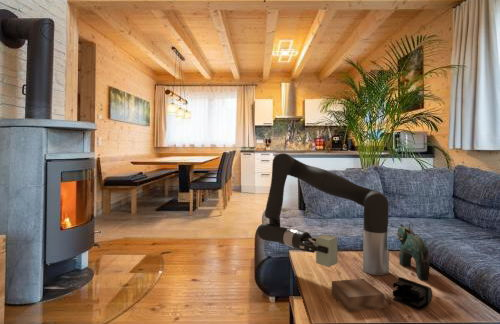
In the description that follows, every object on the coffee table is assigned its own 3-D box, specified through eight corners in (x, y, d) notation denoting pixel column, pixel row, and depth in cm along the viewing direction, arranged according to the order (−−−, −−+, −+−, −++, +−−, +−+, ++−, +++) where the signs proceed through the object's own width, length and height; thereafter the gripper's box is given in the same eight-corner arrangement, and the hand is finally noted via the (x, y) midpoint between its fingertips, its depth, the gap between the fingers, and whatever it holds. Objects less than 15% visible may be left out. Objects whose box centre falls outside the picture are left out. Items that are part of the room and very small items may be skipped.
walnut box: (362, 292, 110) (363, 278, 110) (383, 309, 98) (383, 294, 98) (331, 295, 108) (331, 281, 108) (348, 313, 96) (349, 297, 96)
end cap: (432, 305, 100) (433, 285, 100) (421, 312, 96) (421, 290, 96) (402, 293, 109) (403, 274, 108) (391, 299, 105) (391, 279, 104)
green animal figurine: (395, 262, 138) (396, 218, 138) (409, 262, 138) (410, 218, 137) (417, 281, 119) (418, 230, 118) (434, 281, 118) (436, 230, 118)
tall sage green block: (324, 259, 120) (324, 234, 120) (337, 263, 116) (337, 237, 116) (316, 263, 116) (316, 237, 116) (328, 267, 112) (328, 240, 112)
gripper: (285, 233, 122) (321, 243, 109) (307, 227, 131) (343, 235, 119) (285, 252, 122) (321, 263, 109) (307, 244, 132) (343, 254, 119)
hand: (332, 248), depth 114 cm, fingers closed on tall sage green block, 5 cm apart
